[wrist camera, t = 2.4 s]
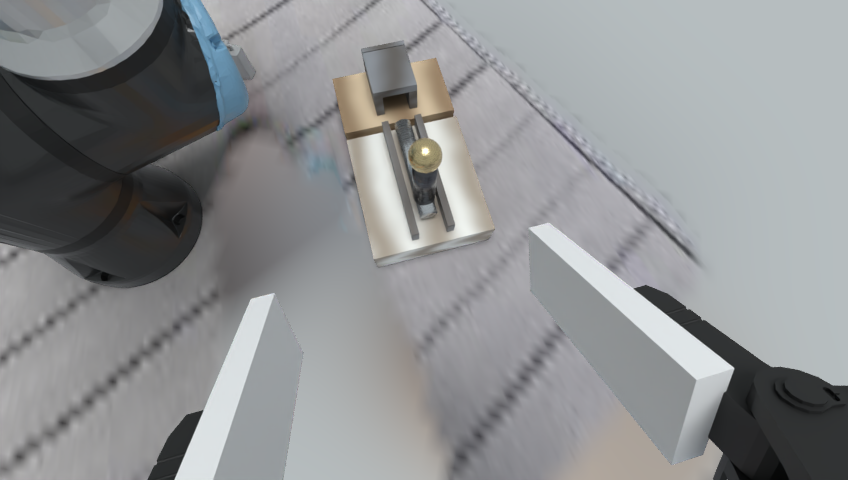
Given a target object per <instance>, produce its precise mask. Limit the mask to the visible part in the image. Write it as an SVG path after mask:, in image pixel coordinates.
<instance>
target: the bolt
mask: <svg viewBox="0 0 848 480" xmlns="http://www.w3.org/2000/svg"><path fill="white" fill-rule="evenodd" d="M394 126H395V130H396V134H397V137H398V141H399V144H400V148H401V152H402V155H403V159H404V162H405V166H406V169H407V173H408V176H409V180H410V184H411V187H412V191H413V198H414V201H415V202H416V205H417V209H418V212H419V216H420V218H421V219H427V218H431V217H433V216H435V215H436V214H437V209H436V206H435V202H434V199H435V192H436V182H437V172H438V167H439V166H440V164H441V162H442V150H441V147H440V146H439V144H438V143H437V142H436V141H434V140H433V139H430V138H421V139H418V140H416V139H415V135H414V132H413V129H412V125H411V122H410V120H408V119H401V120H399V121H397V122H396V123H395V125H394Z"/></svg>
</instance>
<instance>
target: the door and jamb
mask: <svg viewBox="0 0 848 480" xmlns="http://www.w3.org/2000/svg"><path fill="white" fill-rule="evenodd" d="M361 51H362V56H363V61H364V66H365V71H366V72H365V73H360V74H355V75H350V76H345V77H340V78H335V79H333V84H334V88H335V92H336V97H337V101H338V105H339V110H340V114H341V118H342V123H343V127H344V131H345V135H346V138H347V145H348V149H349V153H350V158H351V162H352V166H353V171H354V175H355V179H356V184H357V188H358V192H359V197H360V201H361V206H362V210H363V214H364V219H365V223H366V227H367V232H368V236H369V240H370V245H371V249H372V253H373V258H374V261H375V263H376V264H377V266H378V267H382V266H386V265H390V264H394V263H398V262H402V261H405V260H409V259H413V258H417V257H421V256H425V255H429V254H433V253H437V252H441V251H445V250H449V249H453V248H456V247H460V246H464V245H468V244H472V243H476V242H480V241H484V240H488V239H489V238H490V236H491V234H492V233H493V231H494V230H495V227H494V224H493V221H492V218H491V215H490V213H489V210H488V207H487V204H486V201H485V198H484V195H483V192H482V189H481V187H480V184H479V181H478V178H477V175H476V172H475V169H474V166H473V163H472V161H471V158H470V155H469V152H468V149H467V146H466V143H465V140H464V137H463V134H462V132H461V129H460V126H459V123H458V120H457V117H456V116H455V117H453V113H454V108H453V106H452V103H451V100H450V97H449V94H448V91H447V88H446V85H445V82H444V80H443V77H442V74H441V71H440V68H439V65H438V62H437V59H436V58H433V59H428V60H423V61H418V62H414V63H410V60H409V57H408V54H407V51H406V48H405V45H404V41H398V42H393V43H388V44H383V45H378V46H373V47H368V48H363V49H361ZM401 119H408V120H410V122H411V125H412V129H413V132H414V135H415V139H416V140H418V139H421V138H430V139H433V140H434V141H436V142H437V143H438V144H439V146H440V147H441V150H442V162H441V164H440V166H439V167H438V172H437V182H436V192H435V199H434V202H435V206H436V209H437V214H436V215H435V216H433V217H431V218H427V219H421V218H420V216H419V212H418V209H417V205H416V202H415V201H414V198H413V191H412V187H411V184H410V180H409V176H408V173H407V169H406V166H405V162H404V159H403V155H402V152H401V148H400V144H399V141H398V137H397V134H396V130H395V126H394V125H395V123H396V122H397V121H399V120H401Z"/></svg>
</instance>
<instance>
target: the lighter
mask: <svg viewBox="0 0 848 480" xmlns="http://www.w3.org/2000/svg"><path fill="white" fill-rule="evenodd" d="M221 40H222V41H223V42H224V44H225V45H226V47H227V49H228V50H229V52H230V54H231V56H232V58H233V60H234V62H235V64H236V66H237V68H238V70H239V72H240V74H241V77H242V78H243V79H248V80H252V79H253V77H254V74H255V72H256V71H255V70H254V68H253V66H252V65H251V63H250V61H249V60H248V58H247V56H246V54H245V53H244V51H243V49H242V48H241V46H238V45H232V44H230V43H229V42H228V40H223V39H221Z"/></svg>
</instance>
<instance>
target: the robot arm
mask: <svg viewBox="0 0 848 480" xmlns="http://www.w3.org/2000/svg"><path fill="white" fill-rule="evenodd" d="M248 102H249V97H248V92H247V89H246V86H245V84H244V81H243V79H242V77H241V74H240V72H239V70H238V68H237V66H236V64H235V62H234V60H233V58H232V56H231V54H230V52H229V50H228V49H227V47H226V45H225V44H224V42H223V41H222V40H221V36H220V35H219V33H218V31H217V29H216V27H215V25H214V23H213V21H212V19H211V17H210V16H209V14H208V12H207V10H206V9H205V7H204V5H203V4H202V2H201V0H0V243H4V244H8V245H12V246H16V247H21V248H25V249H30V250H34V251H38V252H41V253H44V254H46V255H47V256H49V257H50V258H52V259H53V260H55V261H56V262H58V263H59V264H61V265H62V266H64V267H65V268H67V269H68V270H70V271H71V272H73V273H74V274H76V275H77V276H79V277H81V278H83V279H85V280H88V281H90V282H93V283H98V284H102V285H107V286H113V287H135V286H140V285H144V284H147V283H150V282H152V281H155V280H157V279H159V278H161V277H162V276H164V275H166V274H167V273H169V272H170V271H172V270H173V269H174V268H175V267H176V266H178V265H179V264H180V263H181V262H182V261H183V260H184V258H185V257H186V256H187V255H188V253H189V252H190V251H191V249H192V247H193V246H194V244H195V242H196V240H197V238H198V235H199V232H200V228H201V222H202V211H201V205H200V202H199V199H198V197H197V195H196V193H195V192H194V190H193V189H192V188H191V187H190V186H189V185H188V184H187V183H186V182H185V181H183V180H182V179H181V178H179V177H178V176H176V175H175V174H173V173H172V172H170V171H168V170H166V169H164V168H161V167H158V166H155V165H151V163H153V162H155V161H157V160H159V159H161V158H163V157H165V156H167V155H169V154H171V153H173V152H175V151H177V150H178V149H180V148H182V147H184V146H186V145H188V144H190V143H192V142H194V141H196V140H198V139H200V138H202V137H204V136H206V135H208V134H210V133H212V132H214V131H218V130H220V129H222V127H223V126H224V124H226V123H228V122H229V121H231V120H233V119H234V118H236V117H238V116H239V115H241V114H242V113H243V112H244V111H245V110H246V109H247V106H248ZM528 233H529V260H530V288H531V292H532V293H533V294H534V296H535V297H536V298H537V299H538V301H539V302H540V303H541V304H542V306H543V307H544V308H545V309H546V311H547V312H548V313H549V314H550V316H551V317H552V318H553V319H554V320H555V322H556V323H557V324H558V325H559V327H560V328H561V329H562V330H563V332H564V333H565V334H566V335H567V337H568V338H569V339H570V340H571V342H572V343H573V344H574V345H575V346H576V348H577V349H578V350H579V351H580V353H581V354H582V355H583V356H584V358H585V359H586V360H587V361H588V363H589V364H590V365H591V366H592V368H593V369H594V370H595V371H596V372H597V374H598V375H599V376H600V377H601V379H602V380H603V381H604V382H605V384H606V385H607V386H608V387H609V389H610V390H611V391H612V392H613V394H614V395H615V396H616V397H617V398H618V400H619V401H620V402H621V403H622V405H623V406H624V407H625V408H626V410H627V411H628V412H629V413H630V415H631V416H632V417H633V418H634V420H635V421H636V422H637V423H638V424H639V426H640V427H641V428H642V429H643V431H644V432H645V433H646V434H647V436H648V437H649V438H650V439H651V441H652V442H653V443H654V444H655V446H656V447H657V448H658V449H659V450H660V452H661V453H662V454H663V455H664V457H665V458H666V459H667V460H668V461H669V463H670V464H671V465H674V464H677V463H680V462H683V461H686V460H688V459H692V458H695V457H698V456H701V455H703V453H704V450H705V448H706V445H707V442H708V440H709V438H710V439H711V441H712V442H713V443H714V444H715V445H716V446H717V447H718V448H719V449H720V450H721V451H722V452H723V455H722V457H721V460H720V462H719V465H718V467H717V470H716V472H715V475H714V478H713V480H727V479H728V480H848V386H832V385H831V384H829V383H827V382H825V381H824V380H822V379H820V378H819V377H816V376H813V375H810V374H808V373H805V372H802V371H800V370H795V369H789V368H783V367H770V366H769V365H767V364H766V363H764V362H763V361H761V360H760V359H758V358H757V357H756V356H754V355H753V354H751V353H750V352H749V351H747V350H746V349H744V348H743V347H742V346H740V345H739V344H737V343H736V342H735V341H733V340H732V339H730V338H729V337H728V336H726V335H725V334H723V333H722V332H720V331H719V330H718V329H716V328H715V327H713V326H712V325H710V324H709V323H708V322H707V321H705V320H703V321H702V320H701V317H700V316H698V315H697V314H695V313H694V312H693V311H691V310H690V309H688V310H687V309H686V306H684V305H683V304H681V303H680V302H679V301H677V300H676V299H674V298H673V297H672V296H670V295H669V294H667V293H664V292H662V291H659V290H657V289H655V288H652V287H650V286H647V285H645V286H641V287H638V288H634V289H633V288H632V287H630V286H629V285H628V284H626V283H625V282H624V281H623V280H621V279H620V278H619V277H617V276H616V275H615V274H614V273H612V272H611V271H610V270H609V269H607V268H606V267H605V266H603V265H602V264H601V263H600V262H598V261H597V260H596V259H594V258H593V257H592V256H591V255H589V254H588V253H587V252H586V251H584V250H583V249H582V248H580V247H579V246H578V245H577V244H575V243H574V242H573V241H572V240H570V239H569V238H568V237H566V236H565V235H564V234H563V233H561V232H560V231H559V230H557V229H556V228H555V227H554V226H552V225H551V224H550V223H546V224H542V225H538V226H534V227H530V228H528ZM302 359H303V351H302V349H301V347H300V345H299V343H298V340H297V338H296V336H295V334H294V332H293V330H292V328H291V326H290V324H289V322H288V320H287V318H286V315H285V313H284V311H283V309H282V307H281V305H280V303H279V301H278V299H277V297H276V295H275V293H272V294H268V295H264V296H260V297H256V298H253V299H251V300H250V302H249V305H248V307H247V309H246V312H245V314H244V316H243V319H242V321H241V324H240V326H239V328H238V331H237V333H236V335H235V338H234V340H233V343H232V345H231V347H230V350H229V352H228V354H227V357H226V359H225V361H224V364H223V366H222V369H221V371H220V373H219V376H218V378H217V380H216V383H215V385H214V387H213V390H212V392H211V395H210V397H209V399H208V402H207V404H206V406H205V409H204V410H202V411H199V412H195V413H191V414H188V415H186V416H185V417H184V419H183V420H182V421H181V422H180V424H179V425H178V426H177V427H176V428H175V430H174V431H173V432H172V433H171V434H170V436H169V437H168V439H167V441H166V443H165V445H164V447H163V449H162V451H161V453H160V455H159V457H158V459H157V465H155V466H154V468H153V470H152V472H151V474H150V476H149V478H148V480H283V477H284V471H285V465H286V458H287V452H288V446H289V440H290V433H291V427H292V421H293V415H294V408H295V402H296V396H297V390H298V383H299V377H300V370H301V364H302Z"/></svg>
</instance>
